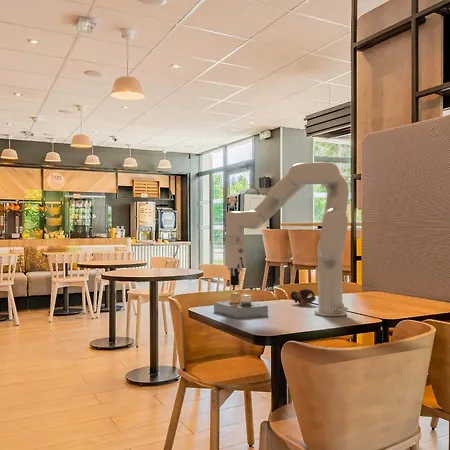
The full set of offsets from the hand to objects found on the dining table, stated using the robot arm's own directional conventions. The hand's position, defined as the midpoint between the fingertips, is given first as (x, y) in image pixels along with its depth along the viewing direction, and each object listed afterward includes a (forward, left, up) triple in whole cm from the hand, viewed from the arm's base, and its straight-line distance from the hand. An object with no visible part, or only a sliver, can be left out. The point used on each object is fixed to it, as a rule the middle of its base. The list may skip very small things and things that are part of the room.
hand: (234, 285), depth 196 cm
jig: (-4, 0, -11) cm, 12 cm away
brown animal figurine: (+4, -38, -12) cm, 40 cm away
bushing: (0, 0, -11) cm, 11 cm away
